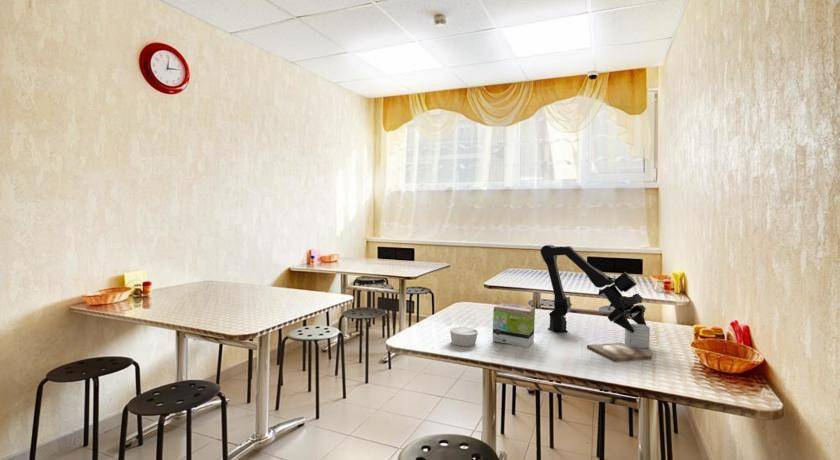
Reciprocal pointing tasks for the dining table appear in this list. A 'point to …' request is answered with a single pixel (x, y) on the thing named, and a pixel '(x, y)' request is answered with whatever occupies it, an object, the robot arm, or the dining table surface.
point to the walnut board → (619, 352)
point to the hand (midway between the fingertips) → (640, 330)
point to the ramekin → (463, 336)
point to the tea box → (513, 324)
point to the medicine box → (638, 336)
